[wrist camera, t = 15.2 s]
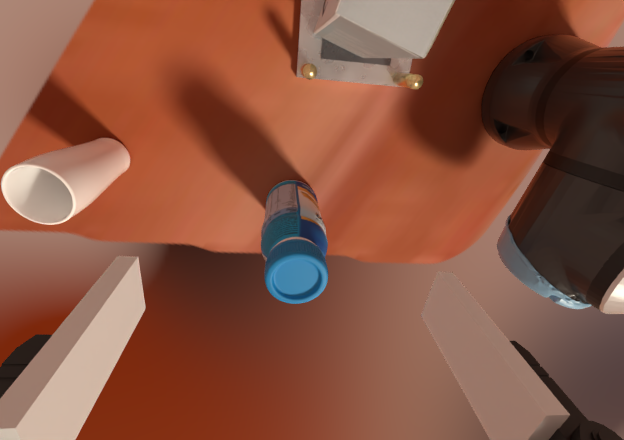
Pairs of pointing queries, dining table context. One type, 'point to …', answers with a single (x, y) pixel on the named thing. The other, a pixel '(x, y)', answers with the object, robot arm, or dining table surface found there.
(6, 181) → the drinking glass
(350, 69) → the mounting plate
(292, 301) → the beverage bottle
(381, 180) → the dining table surface
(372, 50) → the hard drive box
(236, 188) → the dining table surface
